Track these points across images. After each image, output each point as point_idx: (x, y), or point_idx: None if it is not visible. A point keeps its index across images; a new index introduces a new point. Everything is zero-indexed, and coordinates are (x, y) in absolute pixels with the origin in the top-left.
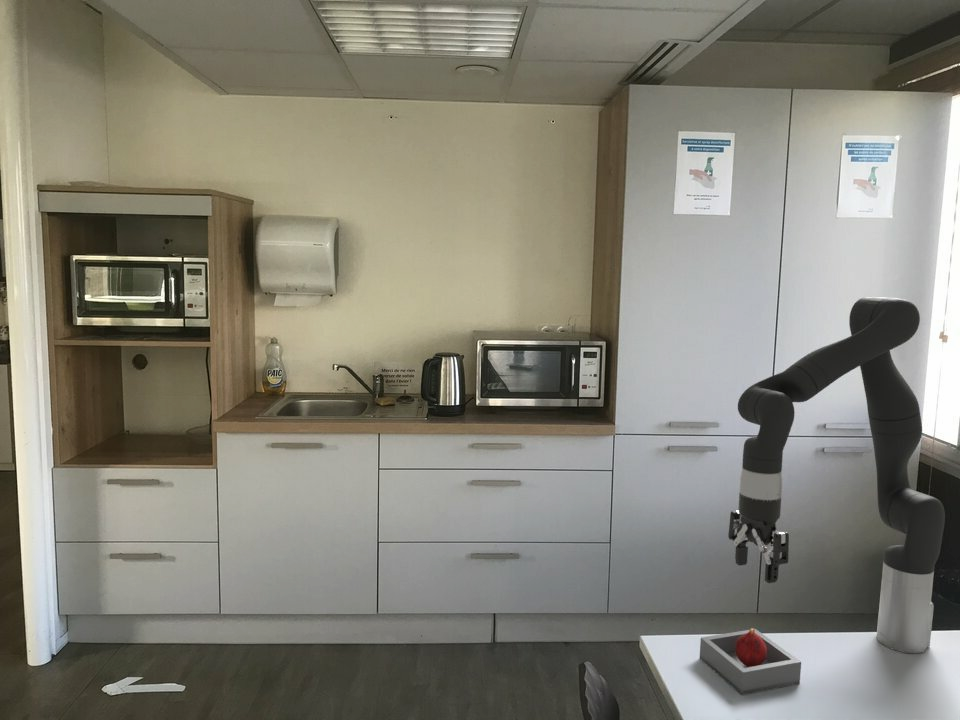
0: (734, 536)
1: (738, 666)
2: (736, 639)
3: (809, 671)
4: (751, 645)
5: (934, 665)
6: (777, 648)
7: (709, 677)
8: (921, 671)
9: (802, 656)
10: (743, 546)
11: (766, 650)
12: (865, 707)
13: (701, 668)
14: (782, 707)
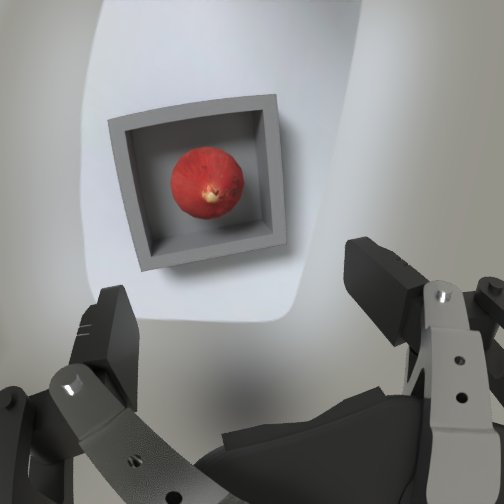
0: (63, 453)
1: (265, 243)
2: (135, 181)
3: (222, 46)
4: (234, 202)
5: None
6: (209, 112)
7: None
8: None
9: (164, 26)
10: (114, 387)
11: (229, 155)
12: (345, 37)
13: None
14: (317, 174)
